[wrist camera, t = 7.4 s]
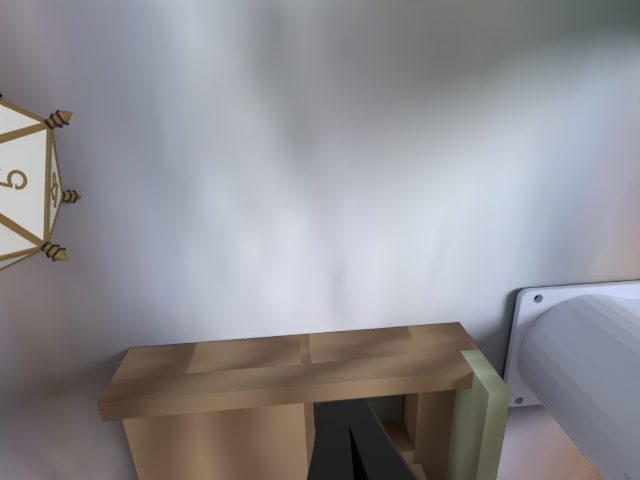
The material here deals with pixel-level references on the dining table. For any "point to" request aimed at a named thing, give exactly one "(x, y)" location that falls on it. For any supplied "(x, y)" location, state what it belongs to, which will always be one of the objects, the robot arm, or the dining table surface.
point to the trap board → (308, 402)
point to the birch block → (418, 471)
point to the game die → (29, 184)
